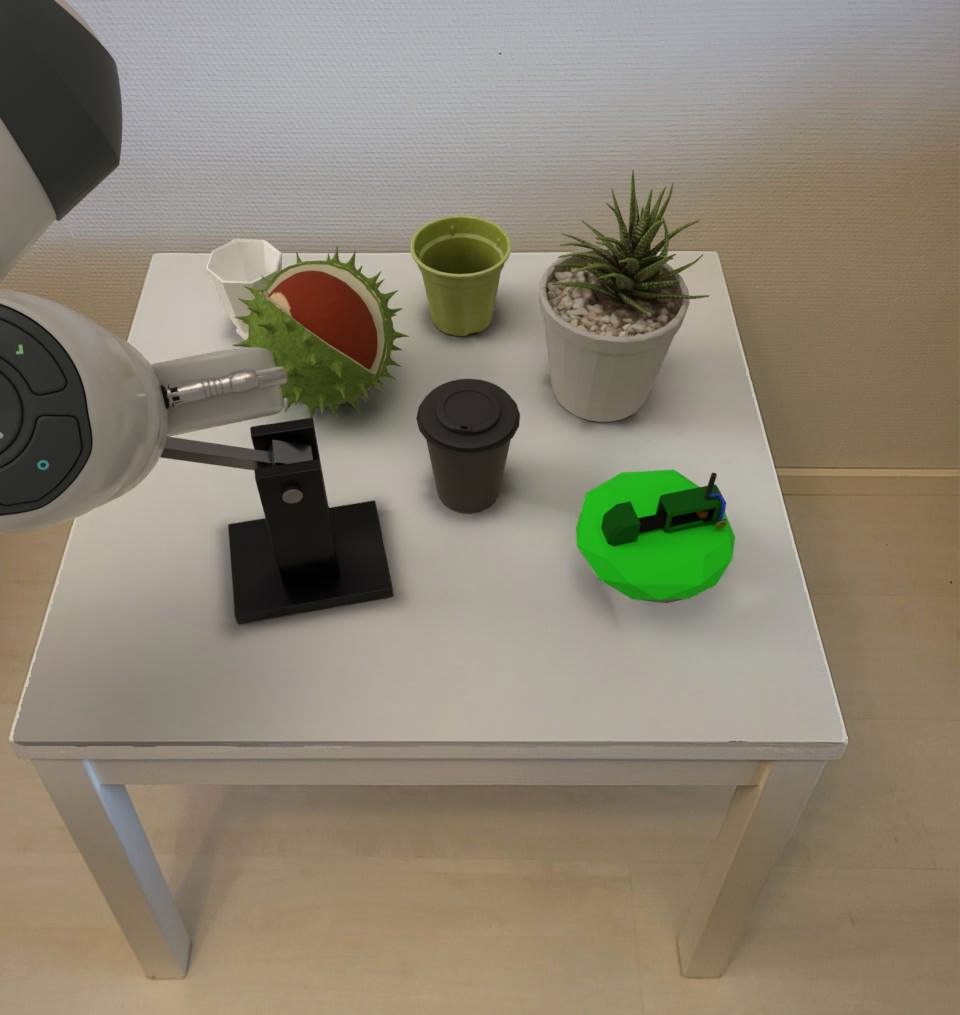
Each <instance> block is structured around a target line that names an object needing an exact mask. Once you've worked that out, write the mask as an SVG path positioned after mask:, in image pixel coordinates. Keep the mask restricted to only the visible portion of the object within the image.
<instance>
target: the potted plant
mask: <svg viewBox="0 0 960 1015" xmlns="http://www.w3.org/2000/svg"><path fill="white" fill-rule="evenodd" d="M673 188H674V183H672V184H671V187H670V189H669V193H668V194H667V196H666V199H665V200H664V203H663V204H662V206H661V203H662V200H663V197H664V194H665V191H666V189H667V186H664V187H663V189H662V190H661V191H660V192H659V196H658V197H657V200H656V202H655V204H654V205H653V207H652V209H651V205H652V198H653V190H654V189H653V188H651V189H650V192H649V195H648V198H647V202H646V204H645V207H644V206H642V207H641V210H640V209H639V206H638V199H637V193H636V183H635V170H634V169H632V170H631V179H630V197H629V214H628V216H629V217H628V226H627V225H626V223H625V220H624V218H623V215H622V213H621V210H620V207H619V204H618V202H617V201H618V200H617V198H616V196H615V192H614V189H613V187H612V186H611V187H610V190H611V196H612V200H613V206H612V205H610V204H609V203H608V202H605V204H606V205H607V206H608V208H609V209H610V210H611V211H612V212H613V213H614V216H615V217H616V221H617V223H618V231H619V240H618V239H615V238H613V237H610V236H609V237H608V236H605V235H604V234H603V233H601V232H600V231H599V230H597V229H596V228H595V227H594V226H591V225H590V224H588V223H587V222H585V221H584V220H583V219H581V222H582V223H583V224H584V225H585V227H587V228H589V230H591V231H592V233H594V234H595V235H596V236H595V240H598V242H597V241H596V242H595V244H597V245H599V246H597V245H594V244H593V243H591V242H589V241H587V240H585V239H582V238H580V237H577V236H574V235H572V234H567V233H563V232H562V233H561V235H562V236H565V237H568V238H571V239H573V240H575V241H577V242H567V243H560V244H559V247H562V246H575V247H580V249H576V250H573V251H571V252H568V253H566V254H561V255H559V256H558V257H557V259H556V260H554V261H553V262H552V263H551V264H550V265H549V266H548V267H547V268H546V269H545V270H544V271H543V273H542V275H541V278H540V280H539V285H538V286H539V287H538V297H539V298H538V299H539V306H540V312H541V316H542V318H543V324H544V332H545V342H546V350H547V360H548V368H549V369H548V370H549V376H550V377H549V378H550V385H551V389H552V392H553V395H554V397H555V399H556V401H557V403H559V404H560V405H561V406H562V407H563V408H564V409H565V410H566V411H567V412H569V413H571V414H573V415H574V416H576V417H578V418H581V419H584V420H586V421H593V422H599V423H602V422H603V423H605V422H615V421H619V420H624V419H627V418H628V417H630V416H633V415H634V414H635V413H636V412H637V411H639V410H640V409H641V408H642V407H643V406H644V403H645V402H646V400H647V398H648V396H649V394H650V393H651V390H652V388H653V387H654V386H653V385H654V384H655V381H656V379H657V377H658V374H659V372H660V370H661V368H662V365H663V363H664V361H665V358H666V356H667V353H668V351H669V350H670V347H671V344H672V342H673V340H674V338H675V335H676V334H677V333H678V332H679V331H680V329H681V327H682V325H683V322H684V320H685V318H686V316H687V313H688V309H689V306H690V303H691V302H690V300H698V299H702V298H703V299H704V298H709V297H710V296H711V295H710V294H704V295H701V294H700V295H690V293H689V292H690V291H689V288H688V286H687V284H686V283H685V280H684V278H683V277H682V275H681V274H680V273H682V272H683V271H685V270H687V269H689V268H690V267H692V266H693V265H695V264H696V263H697V262H698V261H699V260H700V259H701V258H702V257H703V256H704V254H701V255H699V257H698V258H696V259H695V260H693V261H692V262H689V263H687V264H685V265H683V266H680V267H678V268H676V269H675V268H673V267H672V265H670V264H669V263H668V262H669V261H671V260H674V257H675V256H676V255H677V254H676V253H673V254H669V255H668V253H669V244H670V241H671V239H672V238H674V237H675V236H676V235H678V234H679V233H681V232H682V231H683V230H685V229H688V228H689V227H692V226H693V225H694V224H697V223H699V222H700V220H699V219H697V220H694V221H691V222H688V223H686V224H684V225H682V226H680V227H678V228H676V229H675V230H673V231H672V232H671V233H669V229H668V225H667V223H666V220H665V218H664V215H665V213H666V210H667V208H668V206H669V203H670V200H671V198H672V194H673ZM660 206H661V208H660ZM639 210H640V211H639ZM639 212H640V213H639ZM662 225H663V230H664V238H663V239H662V240H661V241H660V242H658V244H656V245H655V246H654V247H653V248H652V247H651V246H652V243H653V241H654V239H655V238H656V235H657V234H658V232H659V230H660V228H661V226H662ZM627 227H628V228H627ZM599 241H601V242H599ZM581 247H582V248H581ZM660 251H661V252H660Z"/></svg>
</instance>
